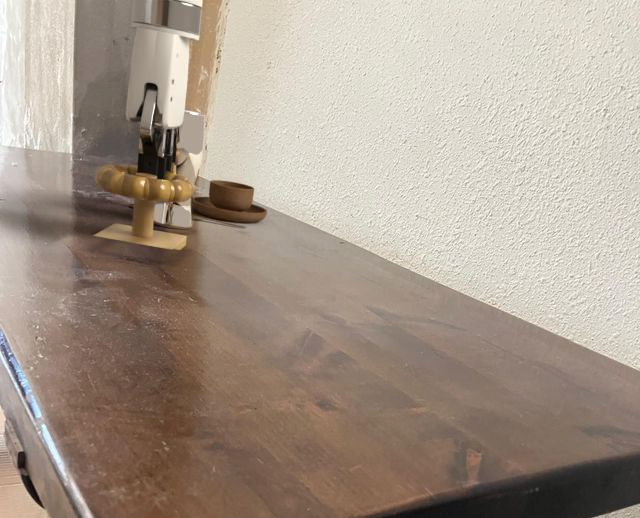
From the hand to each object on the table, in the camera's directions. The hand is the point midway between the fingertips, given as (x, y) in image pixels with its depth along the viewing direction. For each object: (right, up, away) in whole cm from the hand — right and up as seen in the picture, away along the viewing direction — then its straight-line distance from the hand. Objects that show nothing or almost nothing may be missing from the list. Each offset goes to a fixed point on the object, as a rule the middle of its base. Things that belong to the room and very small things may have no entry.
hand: (153, 187), depth 91 cm
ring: (0, -1, -4) cm, 4 cm away
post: (-1, -7, -1) cm, 8 cm away
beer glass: (-1, -1, +14) cm, 14 cm away
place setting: (+2, +5, +28) cm, 28 cm away
